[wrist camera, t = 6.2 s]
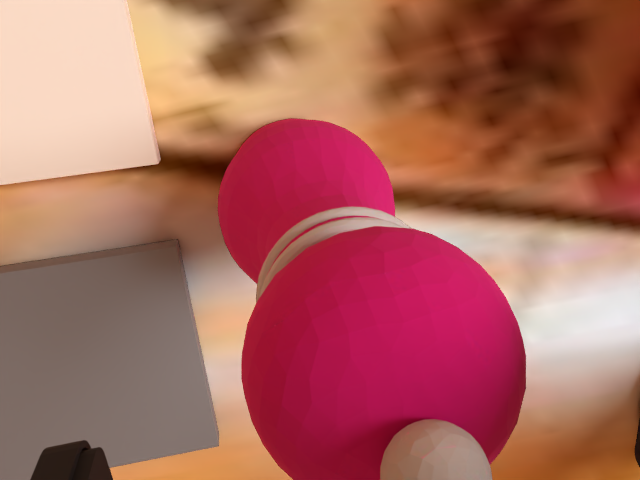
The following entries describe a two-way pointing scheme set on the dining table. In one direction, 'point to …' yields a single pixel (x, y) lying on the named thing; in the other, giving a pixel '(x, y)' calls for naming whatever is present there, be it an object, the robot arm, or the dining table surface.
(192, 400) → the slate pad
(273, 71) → the dining table surface
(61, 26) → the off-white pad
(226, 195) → the pepper mill
